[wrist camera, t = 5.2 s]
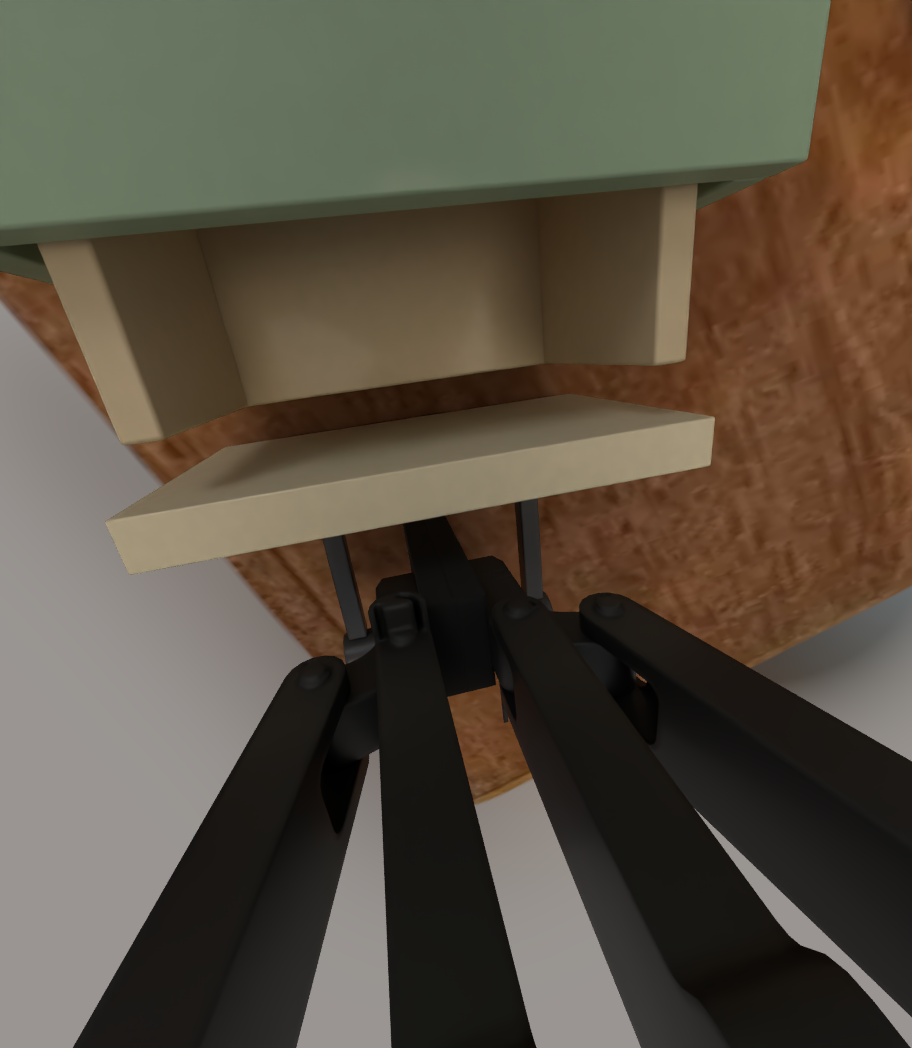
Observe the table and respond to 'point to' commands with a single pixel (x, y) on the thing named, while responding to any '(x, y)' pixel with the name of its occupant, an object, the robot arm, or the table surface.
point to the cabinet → (383, 107)
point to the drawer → (384, 365)
